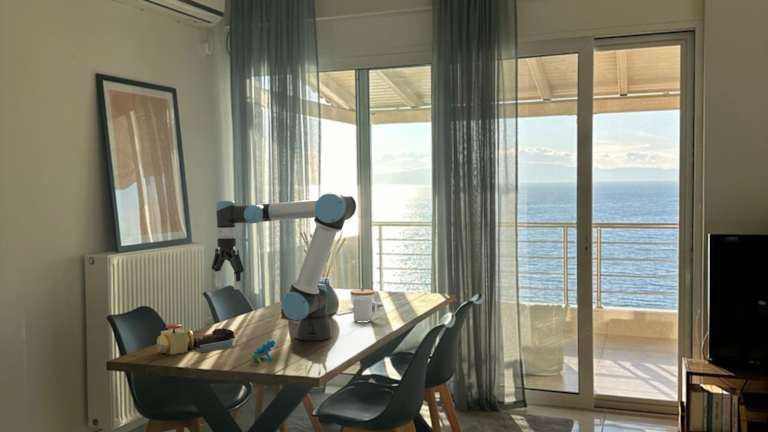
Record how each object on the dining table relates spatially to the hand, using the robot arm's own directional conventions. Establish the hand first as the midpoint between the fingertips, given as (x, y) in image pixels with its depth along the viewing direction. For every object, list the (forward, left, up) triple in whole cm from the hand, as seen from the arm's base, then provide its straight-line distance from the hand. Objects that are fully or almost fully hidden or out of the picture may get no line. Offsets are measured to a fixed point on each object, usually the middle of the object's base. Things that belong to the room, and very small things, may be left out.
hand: (227, 287), depth 288 cm
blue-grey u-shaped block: (-6, +13, -22) cm, 26 cm away
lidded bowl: (+14, -89, -22) cm, 93 cm away
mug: (-13, -67, -22) cm, 71 cm away
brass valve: (-6, +27, -22) cm, 35 cm away
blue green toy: (-40, +9, -22) cm, 46 cm away
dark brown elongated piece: (-6, +11, -21) cm, 25 cm away
